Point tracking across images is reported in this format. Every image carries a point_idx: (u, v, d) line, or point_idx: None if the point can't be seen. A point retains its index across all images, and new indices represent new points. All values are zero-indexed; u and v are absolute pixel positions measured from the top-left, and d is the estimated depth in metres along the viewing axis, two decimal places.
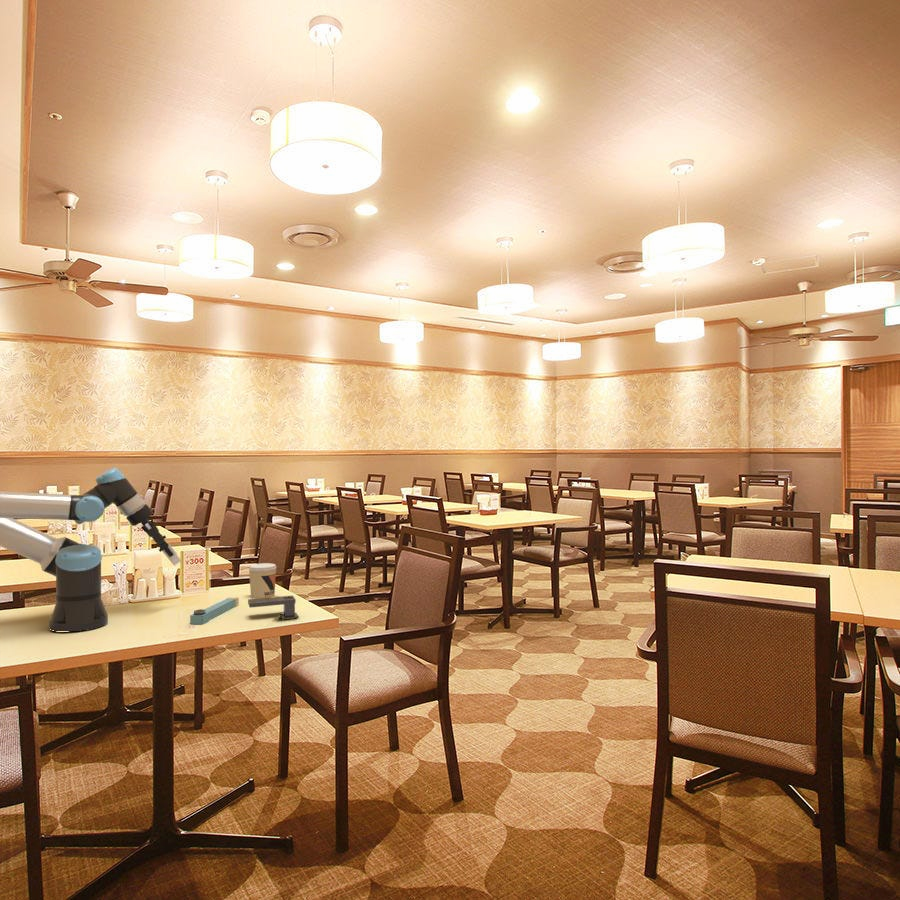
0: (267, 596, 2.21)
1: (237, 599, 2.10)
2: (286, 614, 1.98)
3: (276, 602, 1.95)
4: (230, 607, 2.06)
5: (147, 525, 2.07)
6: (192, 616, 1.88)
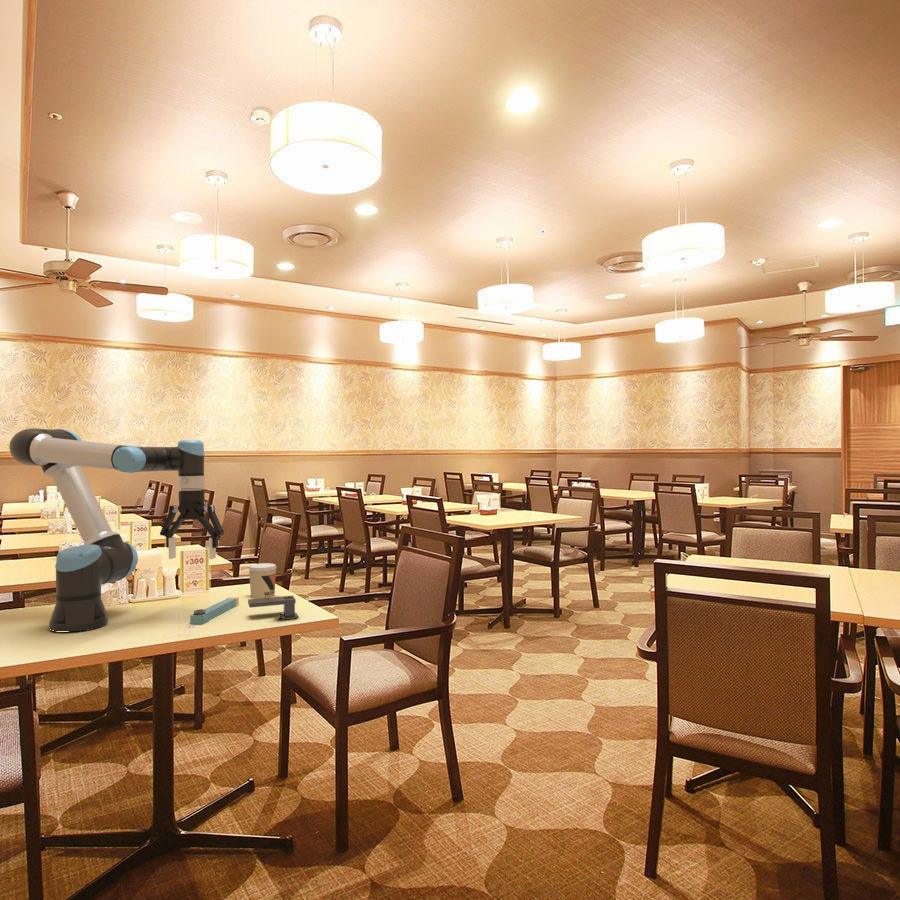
0: (267, 596, 2.21)
1: (237, 599, 2.10)
2: (286, 614, 1.98)
3: (276, 602, 1.95)
4: (230, 607, 2.06)
5: None
6: (192, 616, 1.88)
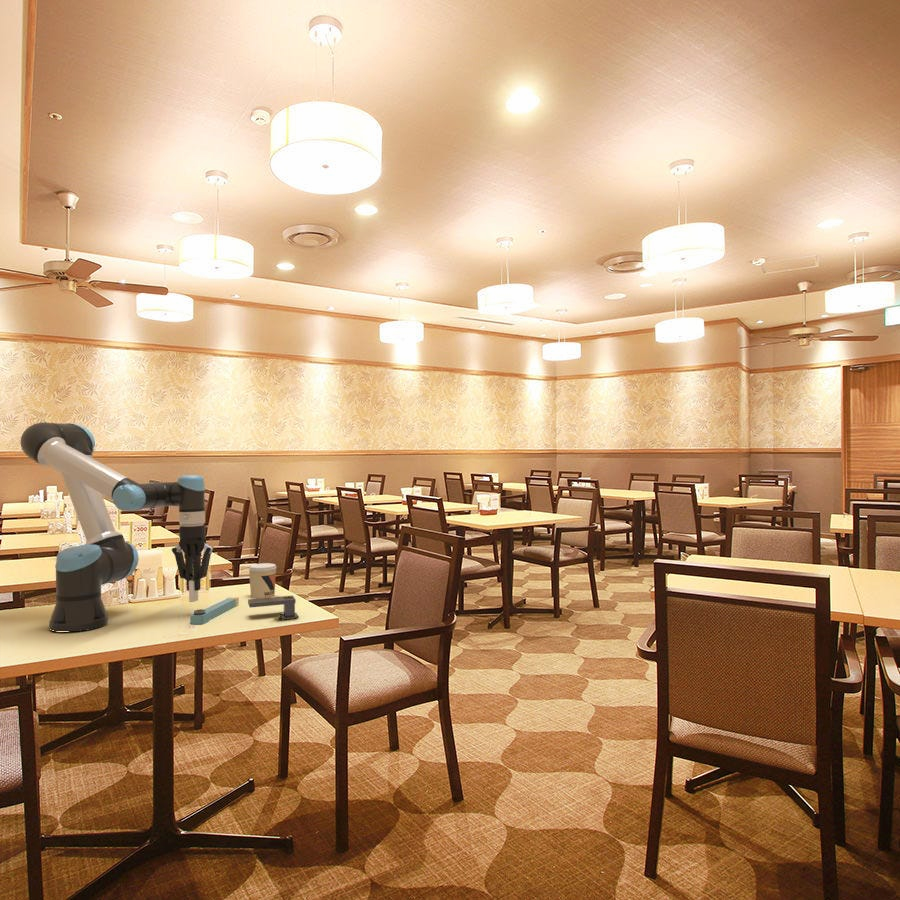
0: (267, 596, 2.21)
1: (237, 599, 2.10)
2: (286, 614, 1.98)
3: (276, 602, 1.95)
4: (230, 607, 2.06)
5: None
6: (192, 616, 1.88)
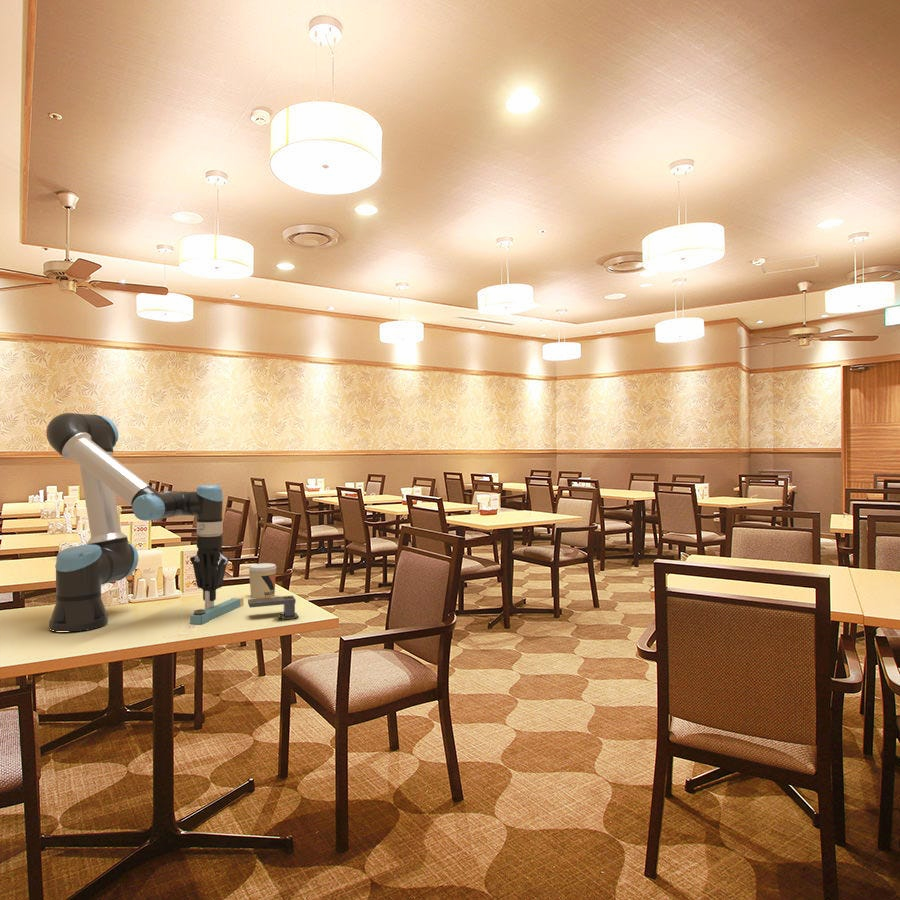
0: (267, 596, 2.21)
1: (242, 599, 2.10)
2: (286, 614, 1.98)
3: (276, 602, 1.95)
4: (234, 607, 2.05)
5: None
6: (192, 616, 1.88)
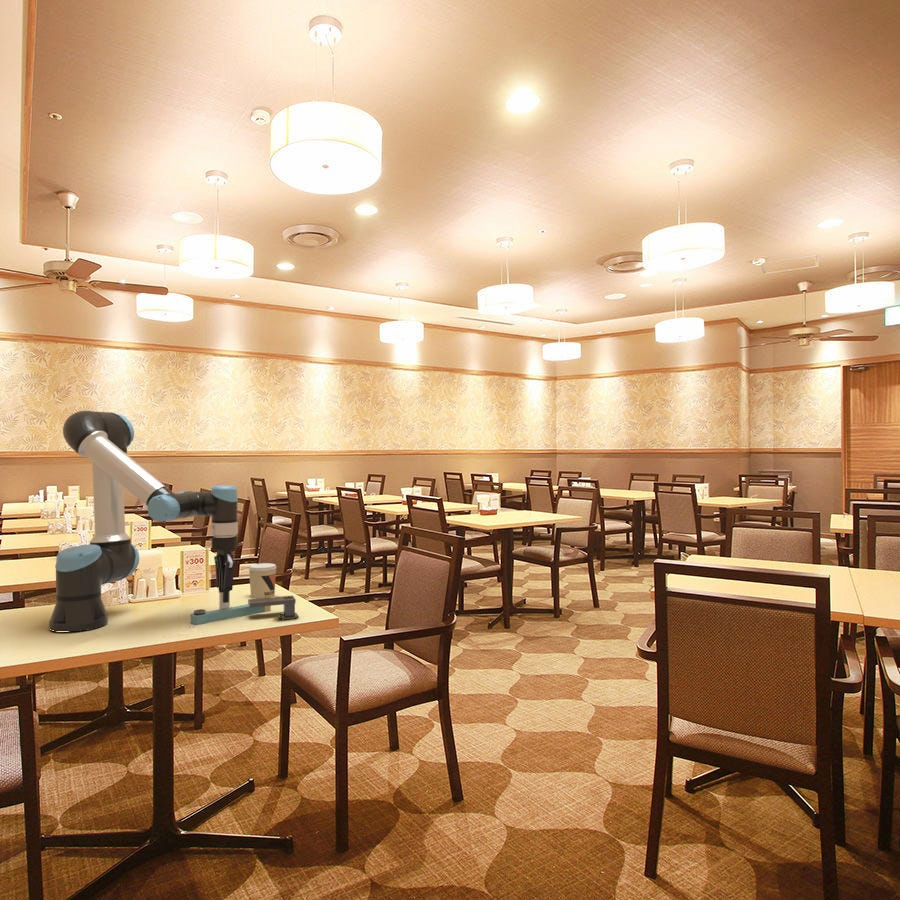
0: (267, 596, 2.21)
1: None
2: (286, 614, 1.98)
3: (276, 602, 1.95)
4: (254, 611, 2.00)
5: None
6: (191, 615, 1.89)
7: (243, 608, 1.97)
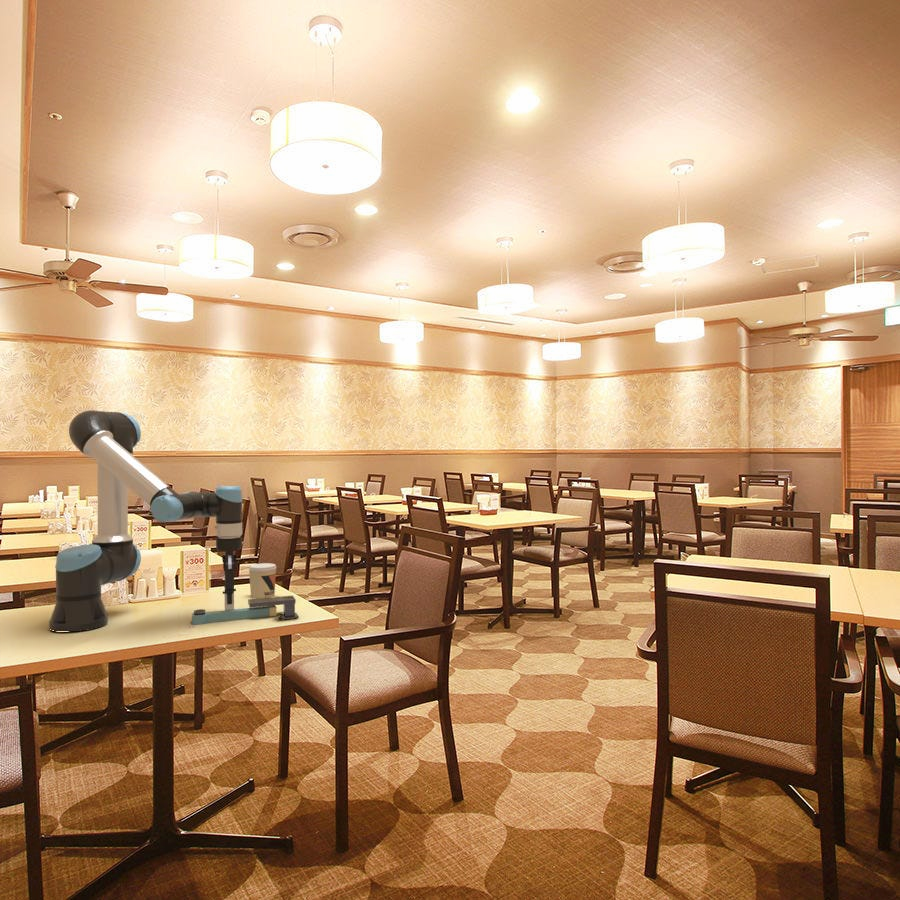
0: (267, 596, 2.21)
1: (273, 609, 1.97)
2: (286, 614, 1.98)
3: (276, 602, 1.95)
4: (257, 615, 1.95)
5: None
6: (192, 614, 1.90)
7: (245, 611, 1.94)
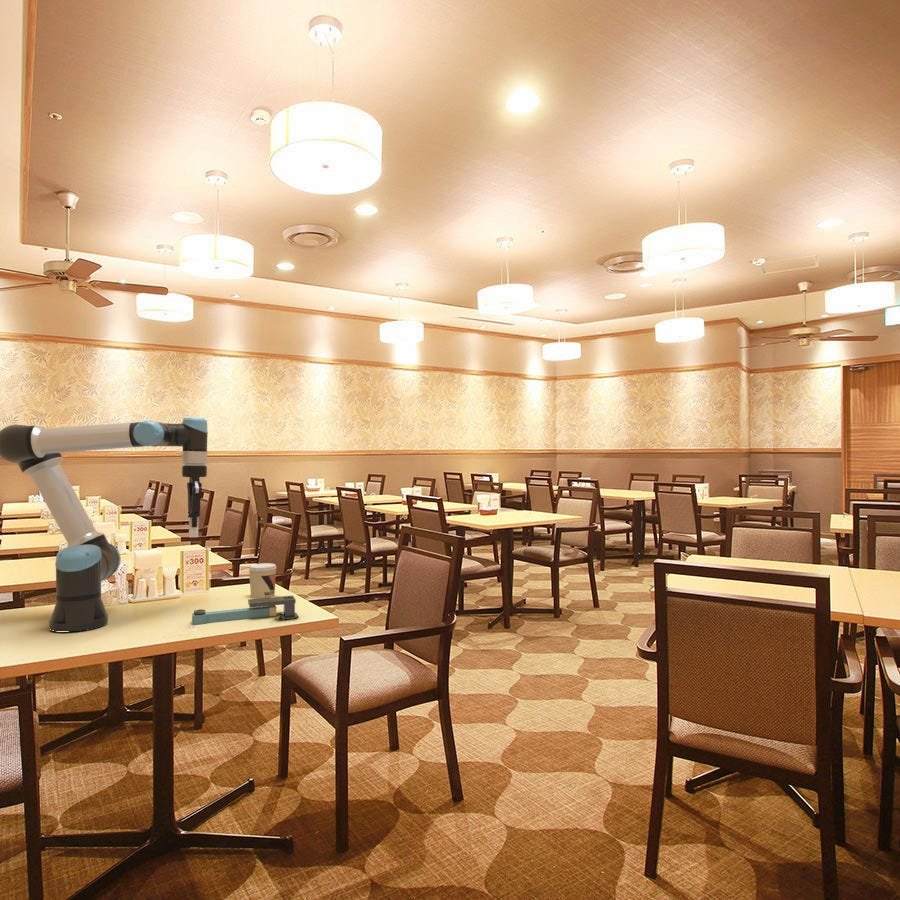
0: (267, 596, 2.21)
1: (273, 609, 1.97)
2: (286, 614, 1.98)
3: (276, 602, 1.95)
4: (257, 615, 1.95)
5: None
6: (192, 614, 1.90)
7: (245, 611, 1.94)
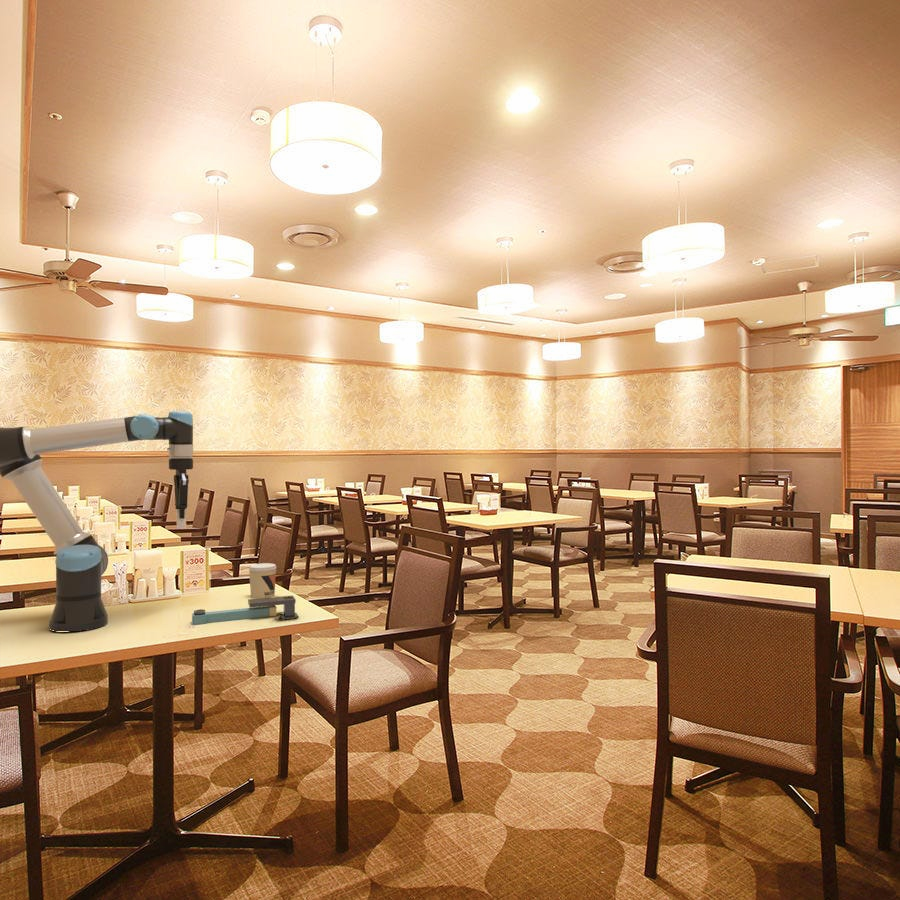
0: (267, 596, 2.21)
1: (273, 609, 1.97)
2: (286, 614, 1.98)
3: (276, 602, 1.95)
4: (257, 615, 1.95)
5: None
6: (192, 614, 1.90)
7: (245, 611, 1.94)
